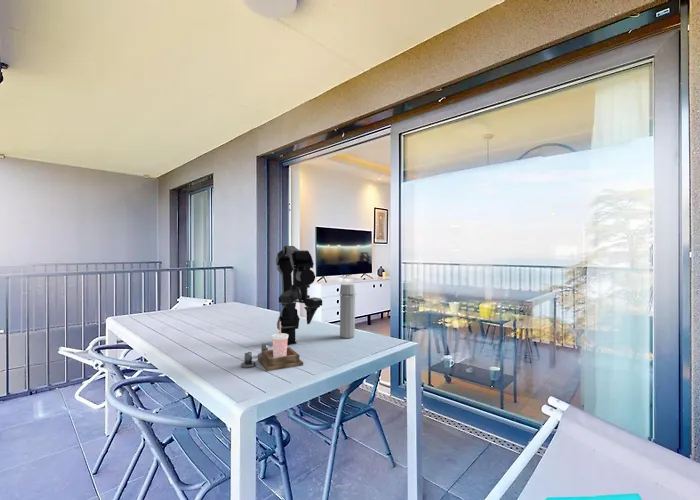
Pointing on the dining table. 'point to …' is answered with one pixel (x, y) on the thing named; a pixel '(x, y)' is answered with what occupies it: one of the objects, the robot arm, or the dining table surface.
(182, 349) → the dining table surface
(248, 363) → the knob
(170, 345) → the dining table surface
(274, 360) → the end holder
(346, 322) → the water bottle
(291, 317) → the robot arm
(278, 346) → the beverage cup
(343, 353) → the dining table surface
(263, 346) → the knob
